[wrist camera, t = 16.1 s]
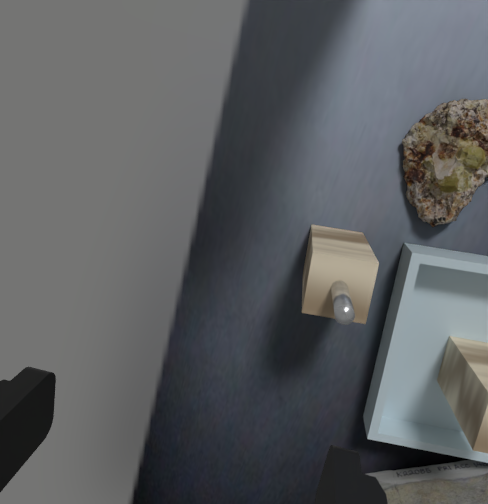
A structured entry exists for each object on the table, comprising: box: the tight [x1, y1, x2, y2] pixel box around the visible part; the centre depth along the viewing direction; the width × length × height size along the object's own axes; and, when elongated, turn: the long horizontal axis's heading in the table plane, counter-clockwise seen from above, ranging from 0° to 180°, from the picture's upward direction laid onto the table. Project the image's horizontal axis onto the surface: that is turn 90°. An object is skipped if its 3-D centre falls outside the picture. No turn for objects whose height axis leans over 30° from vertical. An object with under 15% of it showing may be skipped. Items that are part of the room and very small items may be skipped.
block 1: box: [302, 225, 379, 325], centre depth 35 cm, size 5×5×15 cm
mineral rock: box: [402, 99, 488, 227], centre depth 39 cm, size 11×4×8 cm
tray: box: [363, 243, 488, 463], centre depth 42 cm, size 18×16×4 cm
